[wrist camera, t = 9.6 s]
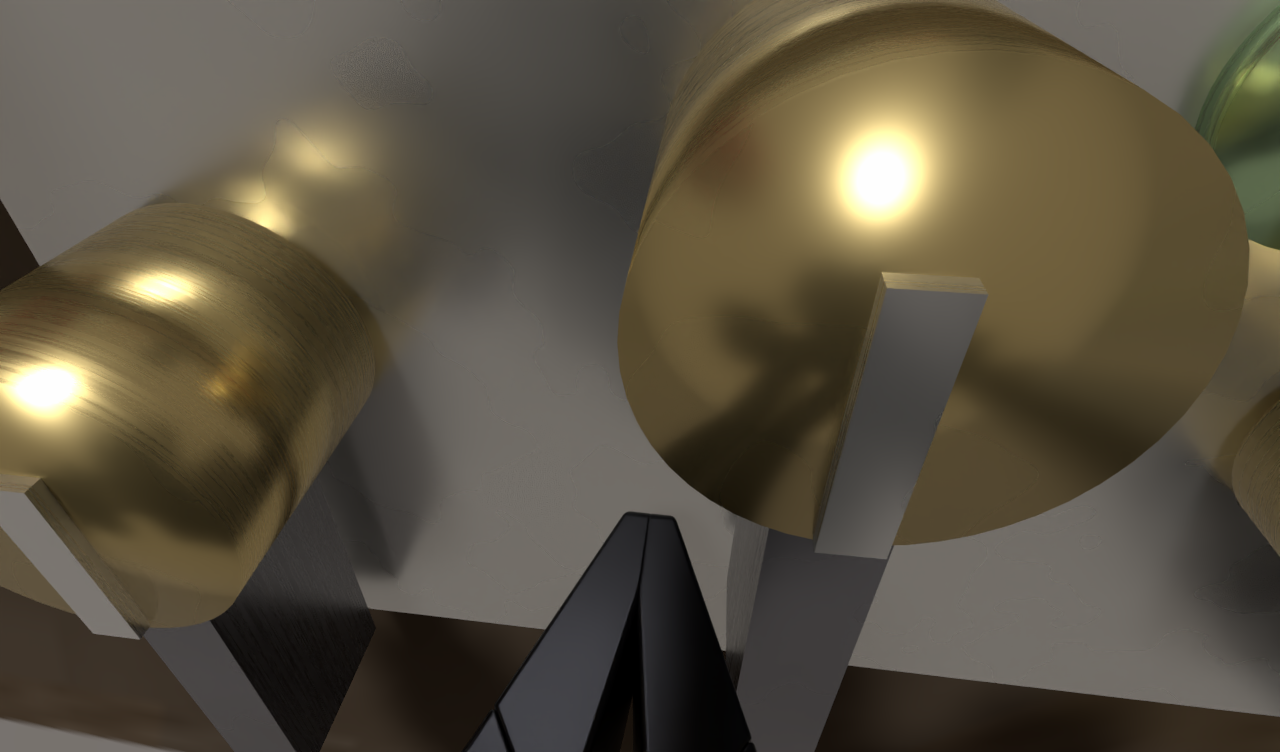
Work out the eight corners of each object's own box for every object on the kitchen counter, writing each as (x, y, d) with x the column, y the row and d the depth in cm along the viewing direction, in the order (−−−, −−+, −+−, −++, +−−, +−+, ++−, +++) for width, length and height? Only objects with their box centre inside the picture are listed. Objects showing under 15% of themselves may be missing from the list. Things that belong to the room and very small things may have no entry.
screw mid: (665, -46, 6) (606, 46, 3) (1112, -35, 6) (1459, 79, 3) (647, 558, 12) (620, 783, 9) (877, 580, 12) (923, 821, 9)
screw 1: (38, 191, 9) (-306, 363, 6) (337, 215, 8) (131, 408, 6) (263, 601, 14) (146, 791, 12) (446, 622, 14) (372, 823, 11)
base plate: (1255, 669, 14) (1298, 737, 13) (257, 554, 16) (221, 607, 15) (2274, -207, 6) (2653, -219, 4) (-179, -280, 7) (-346, -302, 6)
